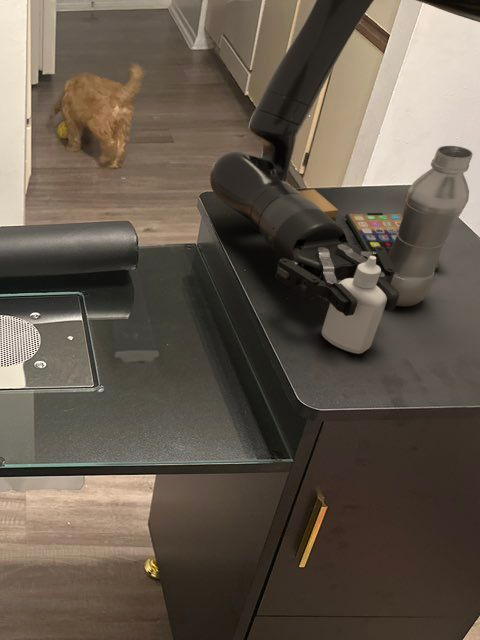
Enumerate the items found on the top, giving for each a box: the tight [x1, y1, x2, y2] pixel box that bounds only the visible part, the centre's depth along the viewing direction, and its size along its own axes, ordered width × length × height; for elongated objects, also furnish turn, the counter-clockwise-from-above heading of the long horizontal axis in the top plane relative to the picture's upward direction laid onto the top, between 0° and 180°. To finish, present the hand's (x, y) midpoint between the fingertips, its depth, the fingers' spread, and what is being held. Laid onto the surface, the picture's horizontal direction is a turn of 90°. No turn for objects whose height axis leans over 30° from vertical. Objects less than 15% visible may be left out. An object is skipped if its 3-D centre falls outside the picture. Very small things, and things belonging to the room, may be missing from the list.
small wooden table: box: [297, 188, 339, 222], centre depth 108 cm, size 6×7×5 cm
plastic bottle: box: [388, 145, 474, 307], centre depth 89 cm, size 6×7×20 cm
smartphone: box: [344, 212, 440, 272], centre depth 106 cm, size 8×15×1 cm, turn 175°
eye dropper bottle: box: [321, 256, 387, 355], centre depth 85 cm, size 4×6×12 cm
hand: (373, 306), depth 82 cm, fingers closed on eye dropper bottle, 4 cm apart
